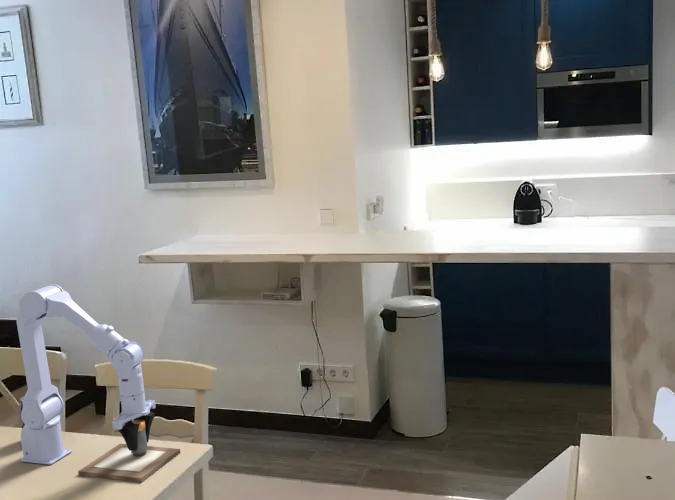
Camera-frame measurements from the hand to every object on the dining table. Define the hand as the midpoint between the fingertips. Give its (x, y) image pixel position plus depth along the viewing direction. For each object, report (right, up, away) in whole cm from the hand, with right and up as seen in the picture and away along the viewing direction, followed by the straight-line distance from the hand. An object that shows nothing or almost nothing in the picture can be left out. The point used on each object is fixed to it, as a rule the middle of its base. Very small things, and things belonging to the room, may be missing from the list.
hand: (138, 446), depth 177 cm
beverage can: (-32, -3, +18) cm, 37 cm away
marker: (0, -2, 0) cm, 2 cm away
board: (-1, -4, -2) cm, 4 cm away
